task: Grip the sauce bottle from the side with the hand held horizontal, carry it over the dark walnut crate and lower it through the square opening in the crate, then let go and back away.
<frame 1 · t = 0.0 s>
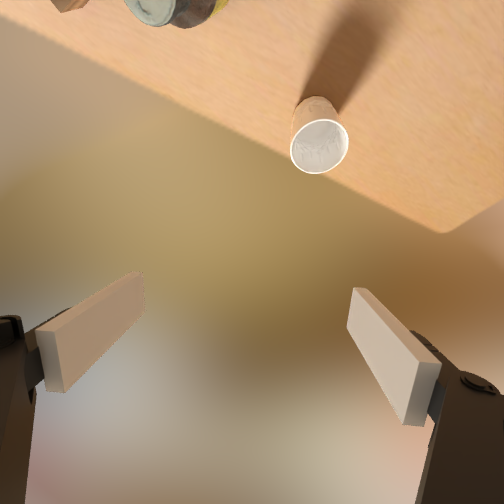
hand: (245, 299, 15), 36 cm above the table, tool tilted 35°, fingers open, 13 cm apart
white cup: (312, 117, 40), on the table
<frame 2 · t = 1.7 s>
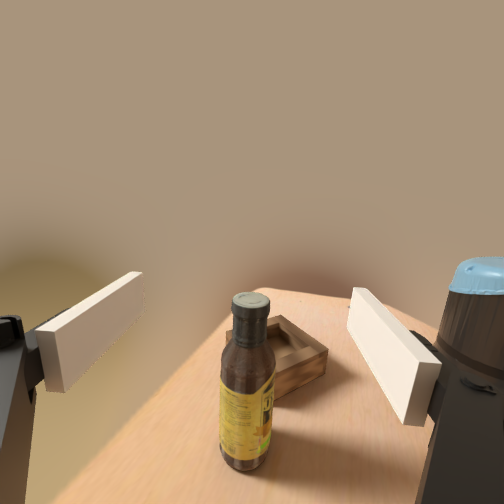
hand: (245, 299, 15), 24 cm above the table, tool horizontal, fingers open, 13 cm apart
sauce bottle: (244, 446, 31), on the table
crate: (273, 363, 45), on the table
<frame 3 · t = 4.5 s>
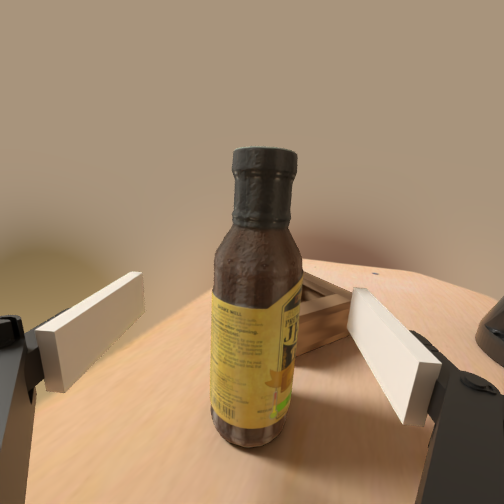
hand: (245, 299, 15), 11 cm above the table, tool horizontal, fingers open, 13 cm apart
sauce bottle: (249, 414, 20), on the table
crate: (286, 320, 34), on the table
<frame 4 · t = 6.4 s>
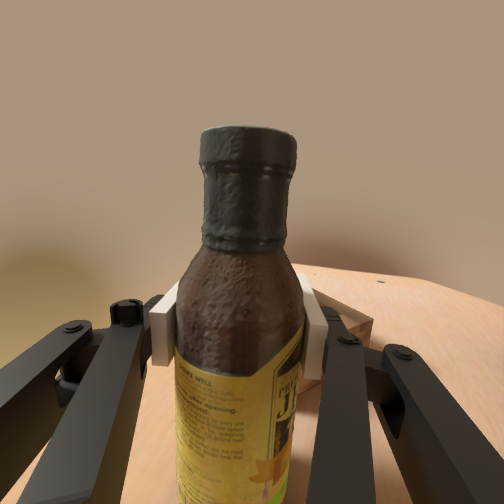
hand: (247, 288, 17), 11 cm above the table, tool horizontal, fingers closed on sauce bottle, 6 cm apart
sauce bottle: (231, 493, 15), on the table, touching gripper
crate: (283, 343, 29), on the table
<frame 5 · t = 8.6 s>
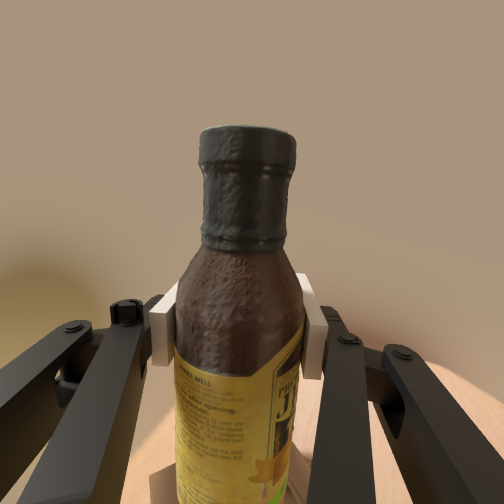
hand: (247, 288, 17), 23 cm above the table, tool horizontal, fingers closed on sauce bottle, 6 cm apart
sauce bottle: (231, 493, 15), point 12 cm above the table, touching gripper
when the fingers open (13 cm above the table, at t = 11.1 s): sauce bottle drops 1 cm, resting on crate.
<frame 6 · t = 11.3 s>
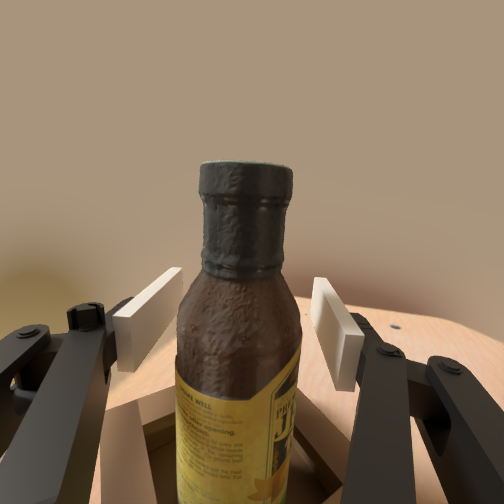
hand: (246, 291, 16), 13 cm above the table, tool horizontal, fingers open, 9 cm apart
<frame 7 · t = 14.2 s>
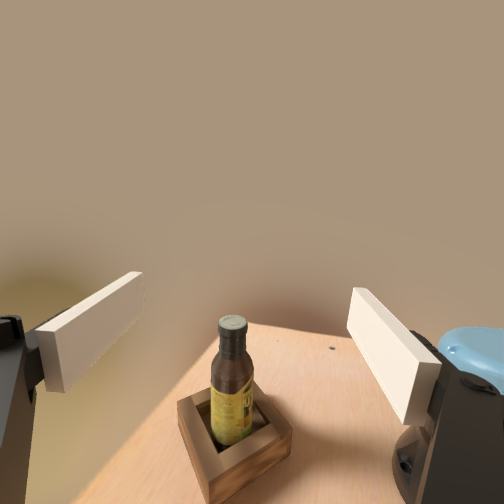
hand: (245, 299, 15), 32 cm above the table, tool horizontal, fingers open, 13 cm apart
sauce bottle: (231, 436, 38), point 1 cm above the table, touching crate
crate: (231, 439, 39), on the table
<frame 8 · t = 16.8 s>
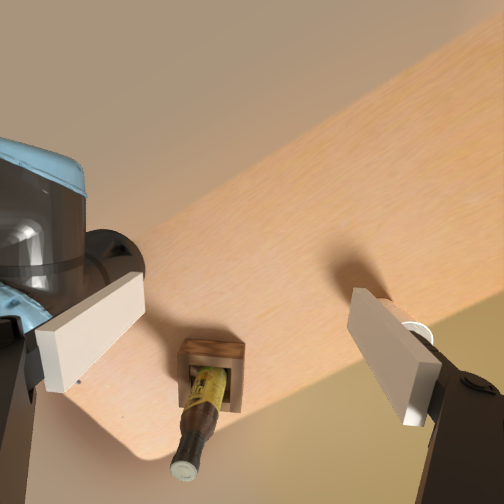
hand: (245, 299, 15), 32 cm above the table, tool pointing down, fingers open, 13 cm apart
white cup: (379, 312, 49), on the table
sauce bottle: (214, 368, 54), point 1 cm above the table, touching crate
crate: (214, 366, 54), on the table
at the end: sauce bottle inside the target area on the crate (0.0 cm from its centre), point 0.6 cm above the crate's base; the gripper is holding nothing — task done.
